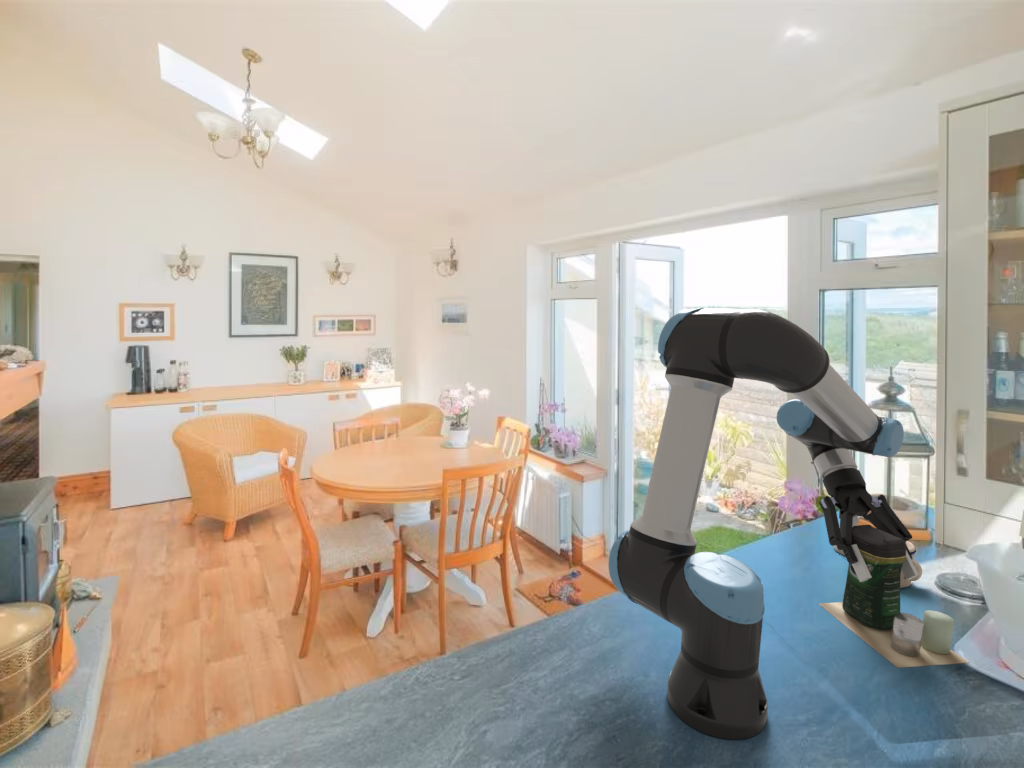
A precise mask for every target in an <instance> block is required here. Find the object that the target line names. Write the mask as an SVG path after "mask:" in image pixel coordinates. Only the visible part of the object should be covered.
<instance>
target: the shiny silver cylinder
mask: <svg viewBox="0 0 1024 768" xmlns="http://www.w3.org/2000/svg"><path fill="white" fill-rule="evenodd" d="M923 626H924V623H923V619H921V618H920V617H917V616H916V615H913V614H910V613H905V612H900V613H896V614H894V621H893V629H892V638H891V648H892V649H893V650H894V651H896V652H897V653H899V654H901V655H904V656H908V657H918V656H919V655H920V649H921V642H922V634H923Z"/></svg>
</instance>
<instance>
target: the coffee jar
mask: <svg viewBox="0 0 1024 768" xmlns="http://www.w3.org/2000/svg"><path fill="white" fill-rule="evenodd" d="M853 544H857V546H858V548H859V551H860V553H861V555H862V557H863V559H864V562H865V564H866V566H867V568H868V570H869V573H870V575H871V577H872V578H870V579H868V580H866V581H864V582H860V581H859V579H858V577H857V575H856V572H855V570H854V568H853V566H852V564H849V563H848V567H847V573H846V574H847V575H846V581H845V586H844V592H843V598H842V602H843V605H842V607H843V610H844V611H845V612H846V613H847V614H849V615H850V616H851V617H853V618H854V619H856V620H857V621H859V622H861V623H863V624H864V625H866V626H868V627H871V628H877V629H883V630H889V629H893V621H894V614H896V613H901V588H900V579H901V569H902V565H903V563H904V561H905V559H906V543H905V541H904V540H903V539H902V538H898V537H895V536H893V535H891V534H888V533H886V532H884V531H881V530H879V529H877V528H876V527H875V526H872V524H858V526H853V527H852V543H851V545H853Z"/></svg>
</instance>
